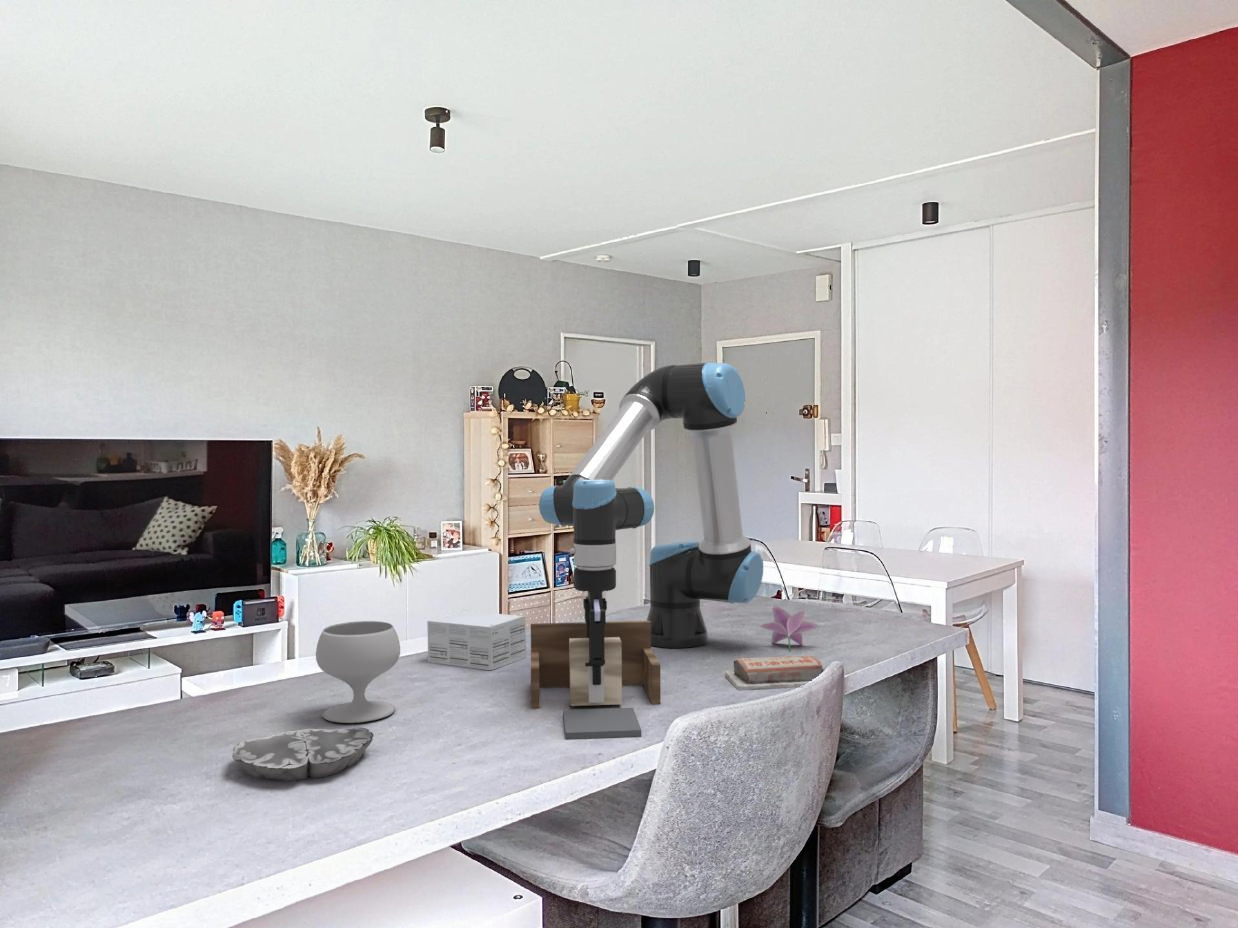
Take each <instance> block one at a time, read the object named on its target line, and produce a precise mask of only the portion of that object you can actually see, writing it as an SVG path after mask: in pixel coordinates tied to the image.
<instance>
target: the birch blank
mask: <svg viewBox="0 0 1238 928" xmlns="http://www.w3.org/2000/svg"><path fill="white" fill-rule="evenodd" d="M569 655H570V687H569V703H570V705H569V706H570V707H577V706H578V707H580V706H581V707H582V706H584V707H585V706H603V705H604V706H607V705H608V706H610V705H612V706H615V705H622V704H623V702H622V701H623V699H622V698H623V694H622V693H623V690H622V689H623V688H622V687H623V685H622V642H621V640H620V637H605V638H604V658H605V664H604V702H601V703H589V688H588V666H585V663H589V638H569Z"/></svg>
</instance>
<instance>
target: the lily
mask: <svg viewBox="0 0 1238 928" xmlns="http://www.w3.org/2000/svg"><path fill="white" fill-rule="evenodd" d="M772 613H773V615H772V616H773V619H774V620H773V621H771V622H766V623H764V624H762V625H761V624H760V627H761V628H762V629H766V630H769V631H772V634H771V643H772V644H776V643H778V642H781V641H782V640H785V639H787V638H788V640H787V641H788V651H789V652H792V650H791V641H790V640H792V641H793V642H794V643H796V644H798V645H800V646H801V645H803V643H804V641H803V640H804V639H803V635H802V633H805V632H809V631H812V630H813V631H814V630H816V629H819V628H821V627H820V626H821V625H819V624H818V623H815V622H813V621H809V620H805V619H804V618H805V613H806V611H805V610H799V611H796V612H795V613H793V614H790V613H789V612H788V611H787V610H785V609H783V608H782V607H780V606H778V605H773V606H772Z"/></svg>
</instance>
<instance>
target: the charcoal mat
mask: <svg viewBox="0 0 1238 928" xmlns="http://www.w3.org/2000/svg"><path fill="white" fill-rule="evenodd" d="M562 718H563V725H564V734H565V735H564V736H565V737H564V738H565V740H577V739H580V740H582V739H604V738H628V737H629V738H630V737H633V738H634V737H642V728H641V725H640V723H639V720H638V718H637V715H636V712H635V709H634V707H615V708H611V707H610V708H588V709H587V708H586V709H585V708H584V709H583V708H582V709H563V710H562Z"/></svg>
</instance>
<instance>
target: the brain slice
mask: <svg viewBox="0 0 1238 928" xmlns="http://www.w3.org/2000/svg"><path fill="white" fill-rule="evenodd" d="M374 735H375V734H374V733H373V732H371V731H370V729H368V728H365V727H346V728H337V729H336V728H335V729H327V728H325V729H323V728H318V729H317V728H306V729H305V728H304V729H301V730H300V729H298V730H290V731H284V732H280V733H276V734H273V735H268V736H265V737H258V738H251V739H246V740H242V741H239V742H238V743H237V744H236V745H235V746H234V747H233V749H232V750H233V751H232V760H233V761H234V762H237V764H238V766H239V768H240V770H242V771H243V772H244V773H245V774H246V775H248V776H251V777H252V778H254V779H255V778H258V779H261V778H265V779H269V780H270V779H271V780H277V781H279V780H281V781H285V782H293V781H298V780H299V781H301V780H303V781H304V780H306V779H307V778H308V777H310V778H312V779H319V778H324V777H328V776H331V775H334V774H337V773H339V772H341V771H342V770H344V769H346V768H350V767H352V766H353V765H354V764H356V763H357V762H358V761H359V760H360V758H361V757H362V755H363V754H364V752H365V751H366V750H367V749H368V748H369V746H370V745H371V743H372V742H373V737H374Z"/></svg>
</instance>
